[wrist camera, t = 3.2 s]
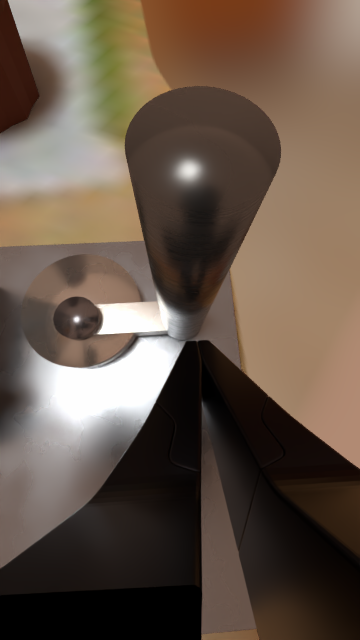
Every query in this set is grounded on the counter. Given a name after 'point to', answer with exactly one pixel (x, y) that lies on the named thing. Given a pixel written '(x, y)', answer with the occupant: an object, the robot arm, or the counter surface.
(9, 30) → the muffin
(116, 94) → the counter surface
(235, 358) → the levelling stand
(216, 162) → the crank handle
